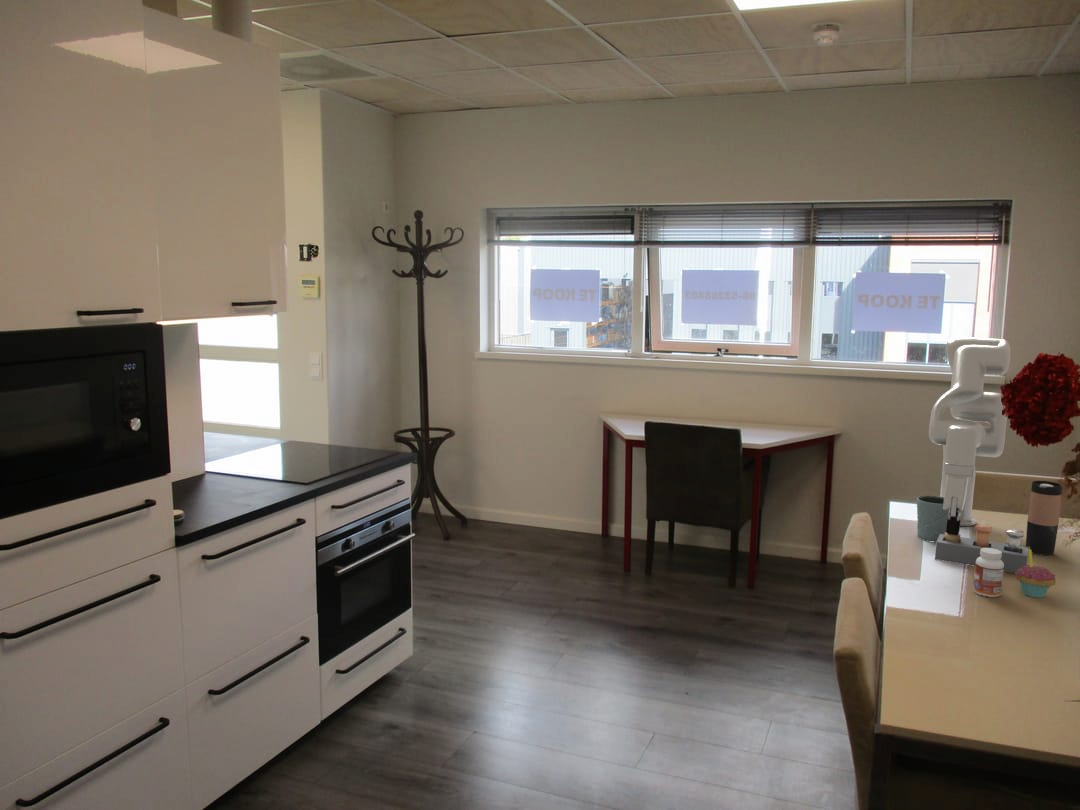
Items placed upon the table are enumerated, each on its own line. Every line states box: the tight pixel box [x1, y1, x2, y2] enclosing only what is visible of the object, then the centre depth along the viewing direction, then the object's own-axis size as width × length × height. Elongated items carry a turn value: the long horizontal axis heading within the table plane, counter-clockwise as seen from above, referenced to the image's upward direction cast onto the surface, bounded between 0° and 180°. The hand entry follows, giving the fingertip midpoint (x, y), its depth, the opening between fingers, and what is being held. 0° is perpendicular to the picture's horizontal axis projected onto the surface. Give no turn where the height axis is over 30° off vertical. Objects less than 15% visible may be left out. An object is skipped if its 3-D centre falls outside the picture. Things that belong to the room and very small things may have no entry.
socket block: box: [934, 534, 1029, 574], centre depth 231 cm, size 9×22×5 cm, turn 59°
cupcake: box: [1015, 547, 1057, 599], centre depth 208 cm, size 9×8×12 cm
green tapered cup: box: [916, 494, 949, 543], centre depth 252 cm, size 10×10×12 cm
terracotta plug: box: [974, 523, 993, 548], centre depth 231 cm, size 4×4×6 cm
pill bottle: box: [972, 548, 1004, 598], centre depth 208 cm, size 6×6×11 cm
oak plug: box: [944, 532, 961, 543], centre depth 235 cm, size 4×4×6 cm
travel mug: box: [1025, 480, 1063, 556], centre depth 240 cm, size 8×8×20 cm
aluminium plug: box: [1005, 528, 1024, 553], centre depth 227 cm, size 4×4×6 cm
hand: (952, 533), depth 235 cm, fingers closed
